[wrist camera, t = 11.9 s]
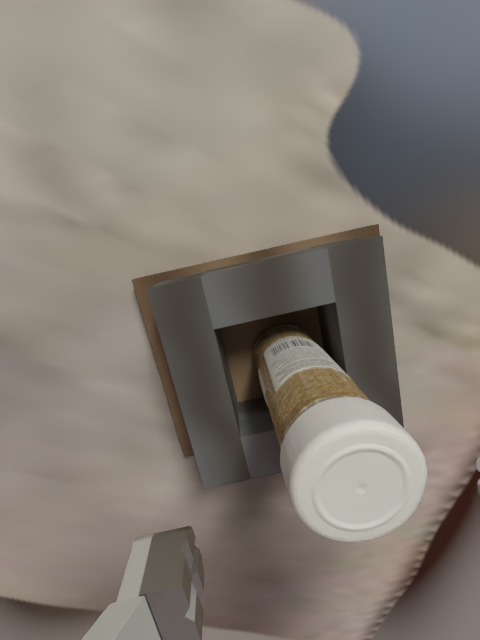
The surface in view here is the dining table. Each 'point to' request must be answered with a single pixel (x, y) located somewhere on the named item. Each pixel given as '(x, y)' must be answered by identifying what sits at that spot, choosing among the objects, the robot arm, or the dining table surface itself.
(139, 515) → the dining table surface
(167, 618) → the robot arm
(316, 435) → the sprinkles bottle
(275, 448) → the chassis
